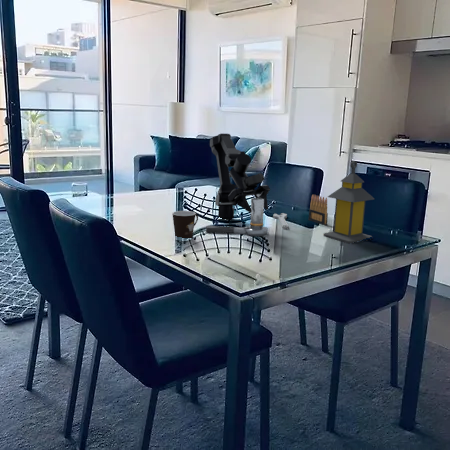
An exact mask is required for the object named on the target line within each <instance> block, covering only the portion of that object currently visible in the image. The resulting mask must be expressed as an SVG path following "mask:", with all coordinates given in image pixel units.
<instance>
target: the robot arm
mask: <svg viewBox="0 0 450 450" xmlns="http://www.w3.org/2000/svg"><path fill="white" fill-rule="evenodd" d="M209 147H210V148H211V153H212V154H213V155H214V156H215V157H216V164H217V165H216V166H217V171H218V177H219V178H218V179H219V185H220V186H219V188H218V190H217V193H216V196H215V199H214V201H215V202H214V203H215V205H216V206H217V207H218V208H217V211H218V217H220V218H222V219H226V220H225V221H233V219H234V217H235V208H234V207H235V206H238V207H240V208H241V209H243V210H245V211H246V212H248V213H249V214H251V212H252V210H251V205H250V203H249V202H248V200H247V197H249V196H254V198H263V199H264V210H269V205H268V204H269V203H268V196H267V195H268V194H269V192H270V191H271V188H270V186H269V185H267V184H263V185H259V184H262V183H263V182H265V176H264V175H263V173H262V172H260V173H257V174H254V175H251V176H248V174H247V173H246V172H248V169H249V167H250V165H251V162H252V157H251V156H250V155H249V154H248V153H246V152H245V151H244V150H243V151H241V150H239V149H237V148H236V146H235V144H234V142H233V139H232V137H231V134H230V133H221V132H220V133H219V134H218V135H215V136H212V137H211V138H210V140H209ZM229 168H230V170H229ZM231 178H232V180H233V182H234V183H232V182H231ZM256 188H257V189H256ZM218 217H217V218H218Z"/></svg>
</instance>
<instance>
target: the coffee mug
mask: <svg viewBox="0 0 450 450" xmlns="http://www.w3.org/2000/svg"><path fill="white" fill-rule="evenodd" d="M198 216H199V215H198V214H197V213H196V212H194V211H190V210H177V211H173V212H172V221H173V229H174V237H175V236H177V237H182V238H192V237H194V228H195V226H196V225H197V223H198V220H199V217H198ZM195 219H196V220H195ZM192 239H193V238H192Z"/></svg>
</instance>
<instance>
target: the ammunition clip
mask: <svg viewBox="0 0 450 450" xmlns="http://www.w3.org/2000/svg"><path fill="white" fill-rule="evenodd" d="M310 199H311V200H310V204H309V205H310V206H309V209H308V221H311V222H312V223H316V224H319V225H322V226H327V225H328V218H329V217H328V215H329V214H328V197H325V196H323V197H322V196H321V195H320V196H319V195H316V194H312V195H311V198H310Z"/></svg>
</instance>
